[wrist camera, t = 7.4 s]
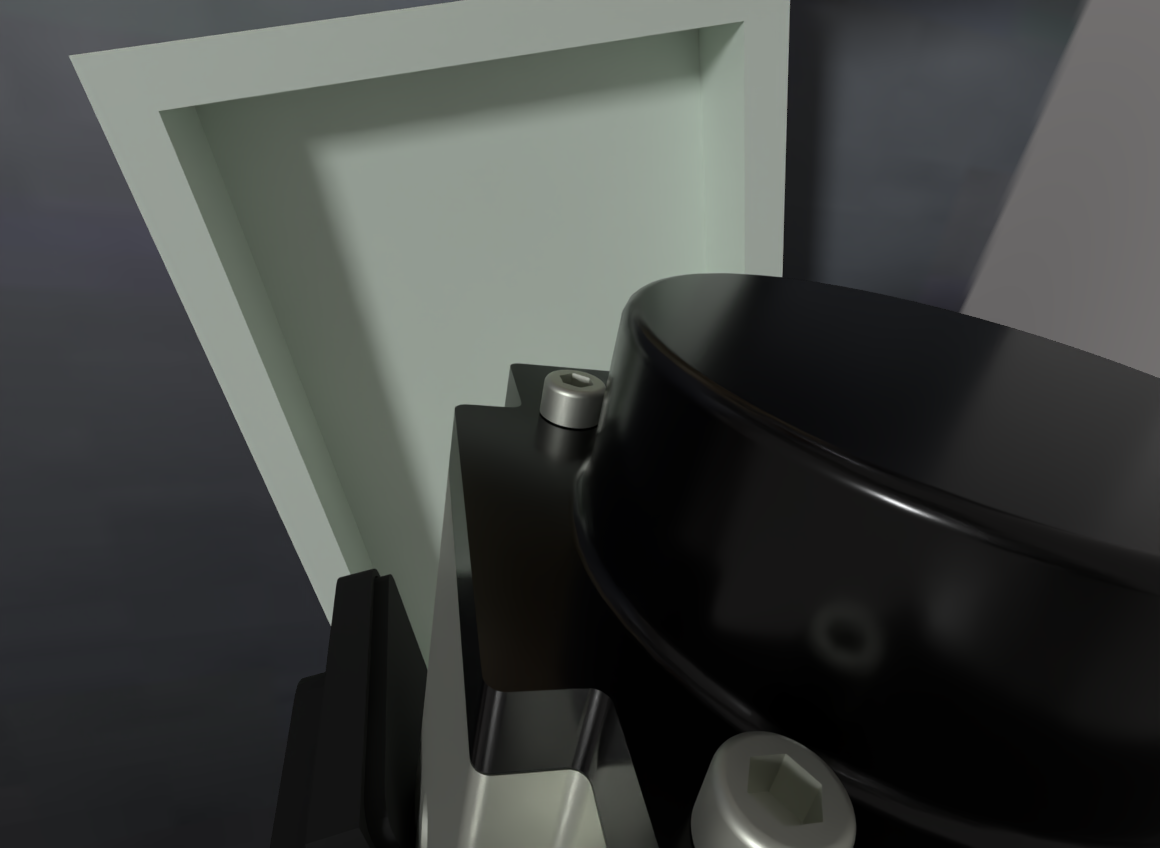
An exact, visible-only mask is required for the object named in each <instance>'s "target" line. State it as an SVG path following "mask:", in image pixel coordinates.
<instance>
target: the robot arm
mask: <svg viewBox="0 0 1160 848" xmlns="http://www.w3.org/2000/svg"><path fill="white" fill-rule="evenodd" d="M427 672H428V670H427V667H426V664H425V661H424V659H423V656H422V653H421V651H420V648H419V645H418V642H417V640H416V637H415V634H414V632H413V629H412V626H411V623H410V621H409V618H408V615H407V613H406V610H405V607H404V604H403V602H402V599H401V596H400V594H399V591H398V588H397V585H396V583H395V580H394V578H393V576H392V574H388V575H385V576H381V577H380V574H379V572H378V571H377V569H375V568H374V569H370V570H366V571H362V572H358V573H355V574H351V575H347V576H343V577H339V578H338V580H337V583H336V590H335V599H334V607H333V615H332V623H331V632H330V640H329V648H328V656H327V665H326V672H324V673H321V674H317V675H313V676H310V677H306V678H303V679H301V680H300V682H299V683H298V686H297V689H296V693H295V699H294V705H293V711H292V717H291V723H290V729H289V735H288V741H287V747H286V753H285V759H284V765H283V771H282V777H281V783H280V789H279V795H278V801H277V807H276V813H275V819H274V826H273V832H272V838H271V844H270V848H415V843H416V826H415V788H416V778H417V769H418V759H419V749H420V740H421V730H422V720H423V711H424V701H425V691H426V682H427Z"/></svg>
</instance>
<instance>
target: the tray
mask: <svg viewBox="0 0 1160 848" xmlns="http://www.w3.org/2000/svg"><path fill="white" fill-rule="evenodd" d="M789 19H790V0H463V1H456V2H449V3H442V4H435V5H428V6H420V7H413V8H406V9H399V10H392V11H385V12H378V13H370V14H363V15H356V16H349V17H342V18H335V19H327V20H320V21H313V22H306V23H299V24H292V25H285V26H277V27H270V28H263V29H256V30H249V31H242V32H235V33H227V34H220V35H213V36H206V37H199V38H192V39H185V40H177V41H170V42H163V43H156V44H149V45H142V46H134V47H127V48H120V49H113V50H106V51H99V52H92V53H84V54H77V55H70V56H69V57H70V59H71V62H72V64H73V66H74V68H75V70H76V72H77V75H78V77H79V79H80V81H81V83H82V86H83V88H84V90H85V92H86V94H87V96H88V99H89V101H90V103H91V105H92V107H93V109H94V112H95V114H96V116H97V118H98V120H99V123H100V125H101V127H102V129H103V131H104V133H105V136H106V138H107V140H108V142H109V144H110V146H111V149H112V151H113V153H114V155H115V157H116V160H117V162H118V164H119V166H120V168H121V170H122V173H123V175H124V177H125V179H126V181H127V183H128V186H129V188H130V190H131V192H132V194H133V197H134V199H135V201H136V203H137V205H138V207H139V210H140V212H141V214H142V216H143V218H144V220H145V223H146V225H147V227H148V229H149V231H150V233H151V236H152V238H153V240H154V242H155V244H156V247H157V249H158V251H159V253H160V255H161V257H162V260H163V262H164V264H165V266H166V268H167V270H168V273H169V275H170V277H171V279H172V281H173V284H174V286H175V288H176V290H177V292H178V294H179V297H180V299H181V301H182V303H183V305H184V307H185V310H186V312H187V314H188V316H189V318H190V321H191V323H192V325H193V327H194V329H195V331H196V334H197V336H198V338H199V340H200V342H201V344H202V347H203V349H204V351H205V353H206V355H207V358H208V360H209V362H210V364H211V366H212V368H213V371H214V373H215V375H216V377H217V379H218V381H219V384H220V386H221V388H222V390H223V392H224V395H225V397H226V399H227V401H228V403H229V405H230V408H231V410H232V412H233V414H234V416H235V418H236V421H237V423H238V425H239V427H240V429H241V431H242V434H243V436H244V438H245V440H246V442H247V445H248V447H249V449H250V451H251V453H252V455H253V458H254V460H255V462H256V464H257V466H258V468H259V471H260V473H261V475H262V477H263V479H264V482H265V484H266V486H267V488H268V490H269V492H270V495H271V497H272V499H273V501H274V503H275V505H276V508H277V510H278V512H279V514H280V516H281V519H282V521H283V523H284V525H285V527H286V529H287V532H288V534H289V536H290V538H291V540H292V542H293V545H294V547H295V549H296V551H297V553H298V556H299V558H300V560H301V562H302V564H303V566H304V569H305V571H306V573H307V575H308V577H309V579H310V582H311V584H312V586H313V588H314V590H315V593H316V595H317V597H318V599H319V601H320V603H321V606H322V608H323V610H324V612H325V614H326V616H327V619H328V621H329V623H330V625H331V623H332V615H333V607H334V599H335V590H336V583H337V580H338V578H339V577H343V576H347V575H351V574H355V573H358V572H362V571H366V570H370V569H374V568H375V569H377V571H378V572H379V574H380V577H381V576H385V575H388V574H392V576H393V578H394V580H395V583H396V585H397V588H398V591H399V594H400V596H401V599H402V602H403V604H404V607H405V610H406V613H407V615H408V618H409V621H410V623H411V626H412V629H413V632H414V634H415V637H416V640H417V642H418V645H419V648H420V651H421V653H422V656H423V659H424V661H425V664H426V667H427V670H428V662H429V653H430V643H431V633H432V624H433V614H434V604H435V595H436V585H437V575H438V566H439V556H440V546H441V537H442V527H443V517H444V508H445V498H446V488H447V479H448V469H449V459H450V450H451V440H452V430H453V421H454V411H455V407H456V406H458V405H462V404H469V405H484V406H499V407H505V400H506V392H507V385H508V378H509V371H510V365H511V364H514V363H521V364H533V365H544V366H556V367H568V368H579V369H591V370H602V371H609V370H610V366H611V361H612V356H613V352H614V347H615V342H616V338H617V333H618V329H619V324H620V319H621V314H622V311H623V309H624V307H625V305H626V304H627V302H628V300H629V298H630V297H631V295H632V294H634V293H635V292H636V291H637V290H639V289H640V288H641V287H643V286H645V285H647V284H649V283H651V282H654V281H657V280H660V279H664V278H668V277H673V276H679V275H686V274H698V273H734V274H752V275H764V276H775V277H782V273H783V237H784V201H785V164H786V128H787V92H788V56H789Z"/></svg>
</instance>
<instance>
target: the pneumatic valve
mask: <svg viewBox="0 0 1160 848" xmlns="http://www.w3.org/2000/svg"><path fill="white" fill-rule="evenodd" d="M415 826H416V843H415V848H1160V378H1157V377H1155V376H1152V375H1149V374H1147V373H1144V372H1142V371H1139V370H1136V369H1133V368H1131V367H1128V366H1125V365H1123V364H1120V363H1117V362H1114V361H1111V360H1109V359H1106V358H1103V357H1100V356H1097V355H1094V354H1091V353H1089V352H1086V351H1083V350H1080V349H1077V348H1074V347H1071V346H1068V345H1065V344H1062V343H1059V342H1056V341H1053V340H1049V339H1046V338H1043V337H1040V336H1037V335H1034V334H1030V333H1027V332H1024V331H1020V330H1017V329H1014V328H1010V327H1007V326H1004V325H1000V324H997V323H993V322H990V321H986V320H983V319H979V318H976V317H972V316H969V315H965V314H961V313H957V312H954V311H950V310H946V309H942V308H938V307H934V306H930V305H926V304H922V303H918V302H914V301H909V300H905V299H901V298H896V297H892V296H887V295H883V294H878V293H873V292H868V291H863V290H858V289H853V288H848V287H842V286H837V285H831V284H825V283H819V282H813V281H806V280H799V279H791V278H783V277H775V276H764V275H752V274H734V273H698V274H686V275H679V276H673V277H668V278H664V279H660V280H657V281H654V282H651V283H649V284H647V285H645V286H643V287H641V288H640V289H639V290H637V291H636V292H635V293H634V294H632V295H631V297H630V298H629V300H628V302H627V304H626V305H625V307H624V309H623V311H622V314H621V319H620V324H619V329H618V333H617V338H616V342H615V347H614V352H613V356H612V361H611V366H610V370H609V371H602V370H591V369H579V368H568V367H556V366H544V365H533V364H521V363H514V364H511V365H510V371H509V378H508V385H507V392H506V400H505V407H499V406H484V405H469V404H462V405H458V406H456V407H455V411H454V421H453V430H452V440H451V450H450V459H449V469H448V479H447V488H446V498H445V508H444V517H443V527H442V537H441V546H440V556H439V566H438V575H437V585H436V595H435V604H434V614H433V624H432V633H431V643H430V653H429V662H428V672H427V682H426V691H425V701H424V711H423V720H422V730H421V740H420V749H419V759H418V769H417V778H416V788H415Z"/></svg>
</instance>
